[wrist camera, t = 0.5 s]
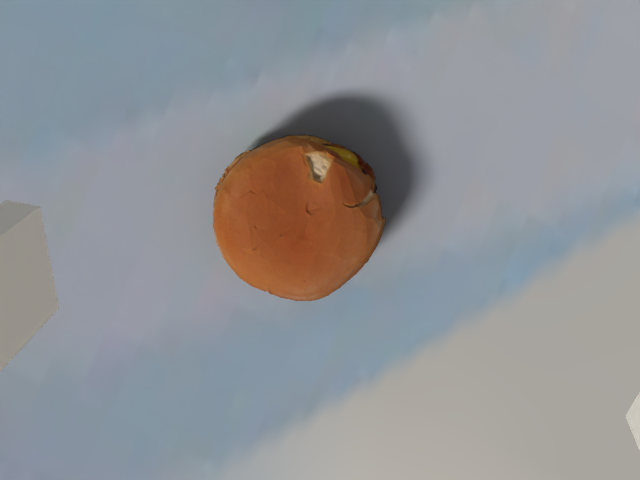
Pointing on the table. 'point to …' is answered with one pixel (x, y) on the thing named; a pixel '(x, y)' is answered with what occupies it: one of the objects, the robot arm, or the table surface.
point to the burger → (297, 216)
